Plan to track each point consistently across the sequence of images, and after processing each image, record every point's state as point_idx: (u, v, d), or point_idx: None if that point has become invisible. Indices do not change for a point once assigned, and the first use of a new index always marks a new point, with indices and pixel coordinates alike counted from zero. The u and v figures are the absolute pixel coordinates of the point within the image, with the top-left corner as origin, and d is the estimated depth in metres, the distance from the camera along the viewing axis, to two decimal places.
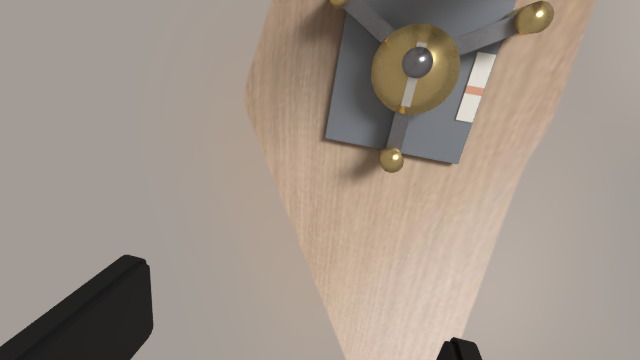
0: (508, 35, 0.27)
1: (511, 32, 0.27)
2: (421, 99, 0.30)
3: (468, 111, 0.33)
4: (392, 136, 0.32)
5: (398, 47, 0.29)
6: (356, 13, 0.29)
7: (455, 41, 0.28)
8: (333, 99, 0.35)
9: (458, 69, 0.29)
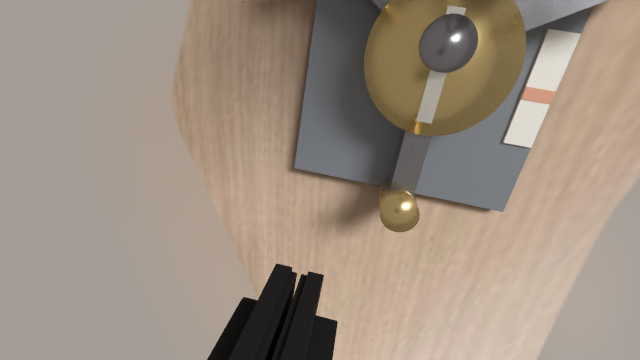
0: None
1: None
2: (452, 110, 0.17)
3: (525, 129, 0.20)
4: (400, 171, 0.19)
5: (412, 17, 0.16)
6: None
7: (518, 4, 0.15)
8: (305, 108, 0.22)
9: (522, 56, 0.16)
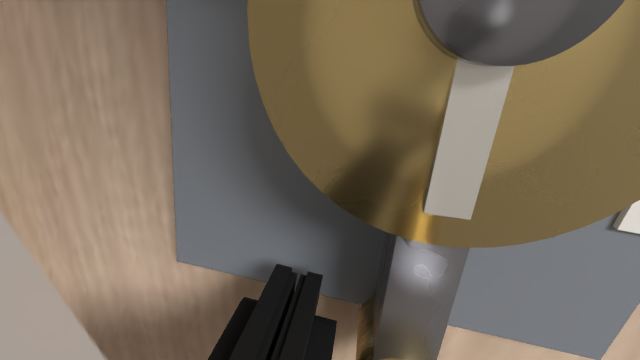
0: None
1: None
2: (532, 179, 0.06)
3: None
4: (394, 322, 0.08)
5: None
6: None
7: None
8: (178, 151, 0.10)
9: None
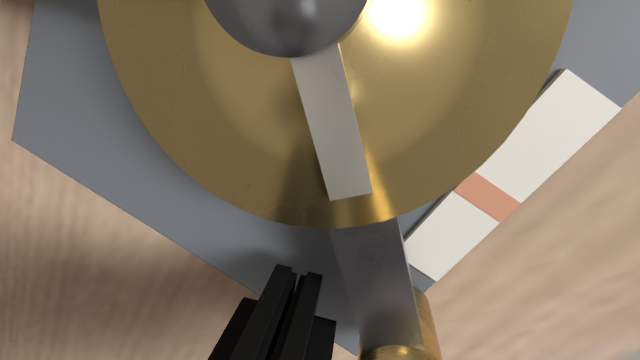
0: None
1: None
2: (411, 136, 0.06)
3: (440, 248, 0.10)
4: (365, 310, 0.08)
5: None
6: None
7: None
8: (37, 26, 0.10)
9: None
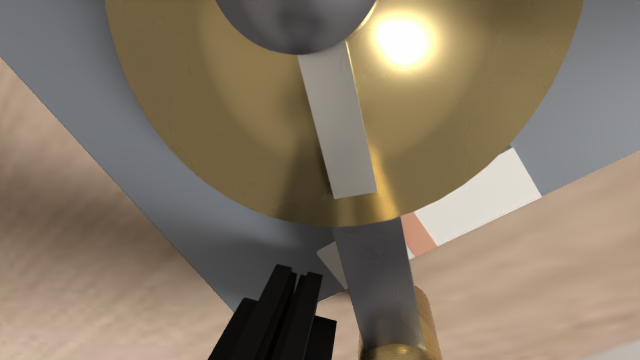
0: None
1: None
2: (417, 136, 0.06)
3: None
4: (366, 309, 0.08)
5: None
6: None
7: None
8: None
9: None
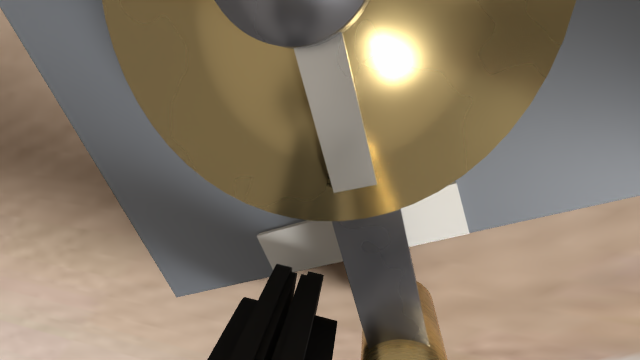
0: None
1: None
2: (415, 127, 0.06)
3: (293, 253, 0.11)
4: (369, 304, 0.08)
5: None
6: None
7: None
8: None
9: None
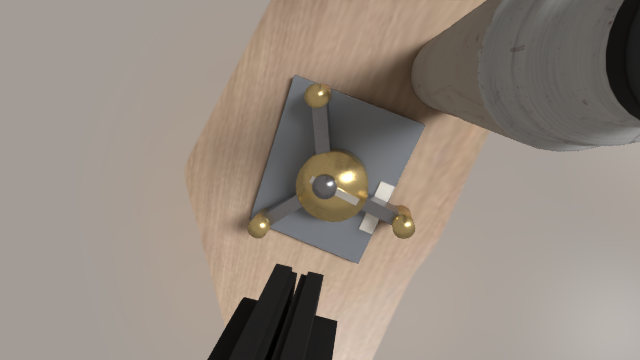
0: (325, 112, 0.32)
1: (323, 110, 0.32)
2: (356, 188, 0.34)
3: (369, 224, 0.38)
4: (382, 217, 0.35)
5: (309, 196, 0.35)
6: (278, 217, 0.37)
7: (318, 153, 0.34)
8: (260, 190, 0.40)
9: (340, 155, 0.33)
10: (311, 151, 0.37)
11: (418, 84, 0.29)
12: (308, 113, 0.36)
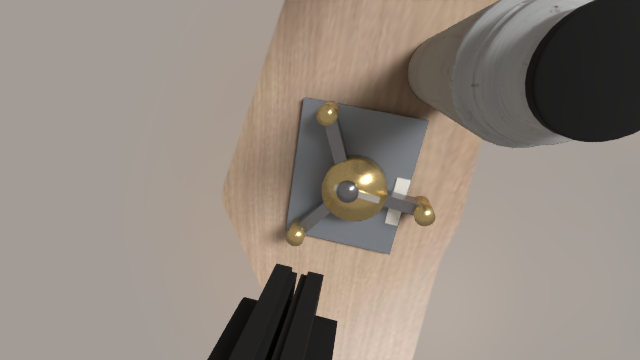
0: (337, 127, 0.36)
1: (335, 125, 0.36)
2: (375, 188, 0.38)
3: (393, 217, 0.42)
4: (403, 209, 0.39)
5: (335, 201, 0.39)
6: (310, 224, 0.42)
7: (336, 163, 0.38)
8: (291, 203, 0.44)
9: (356, 162, 0.37)
10: (330, 161, 0.41)
11: (415, 89, 0.33)
12: (321, 129, 0.40)
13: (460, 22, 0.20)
